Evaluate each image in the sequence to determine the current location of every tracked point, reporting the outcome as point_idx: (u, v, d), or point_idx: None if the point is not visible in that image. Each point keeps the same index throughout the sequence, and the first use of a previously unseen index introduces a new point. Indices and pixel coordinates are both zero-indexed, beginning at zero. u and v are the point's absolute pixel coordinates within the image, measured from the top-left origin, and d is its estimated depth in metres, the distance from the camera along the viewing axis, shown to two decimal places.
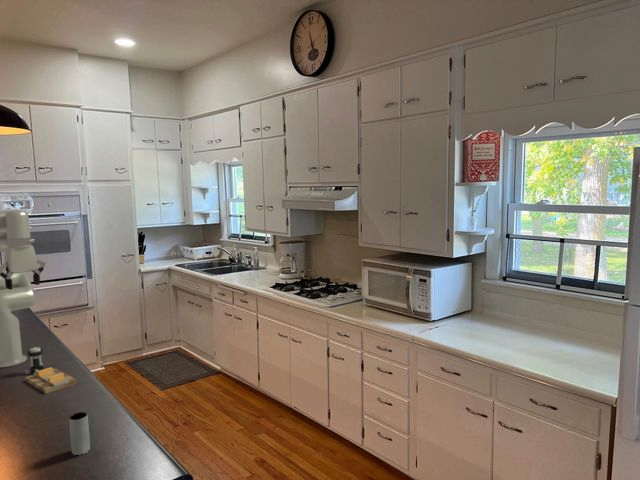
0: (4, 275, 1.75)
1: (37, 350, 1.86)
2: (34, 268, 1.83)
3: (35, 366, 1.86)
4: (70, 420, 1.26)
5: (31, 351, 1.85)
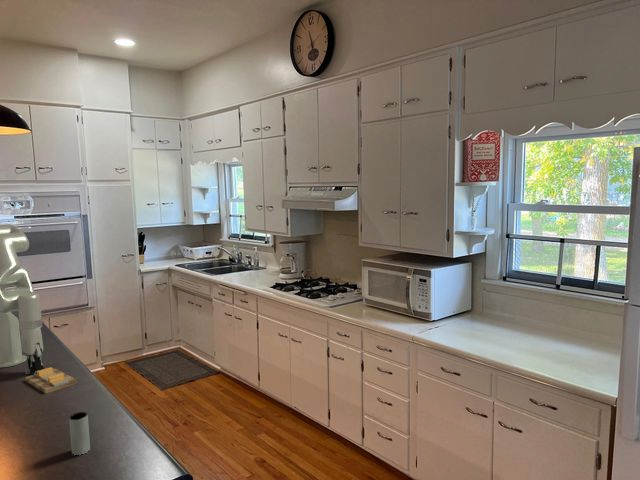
0: None
1: None
2: None
3: None
4: (70, 420, 1.26)
5: None
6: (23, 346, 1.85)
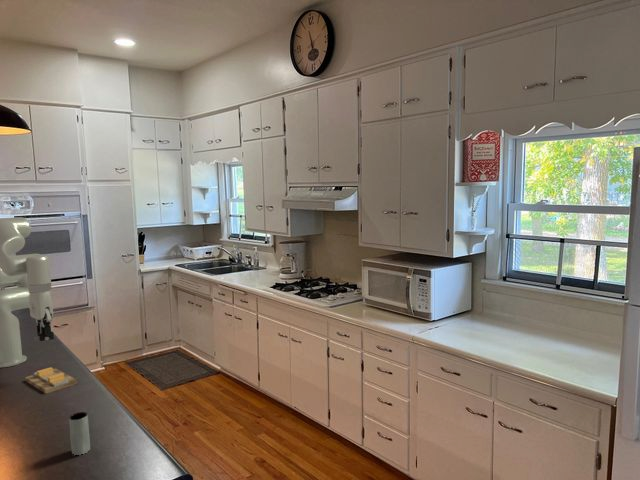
0: None
1: None
2: None
3: None
4: (70, 420, 1.26)
5: None
6: (32, 311, 1.76)
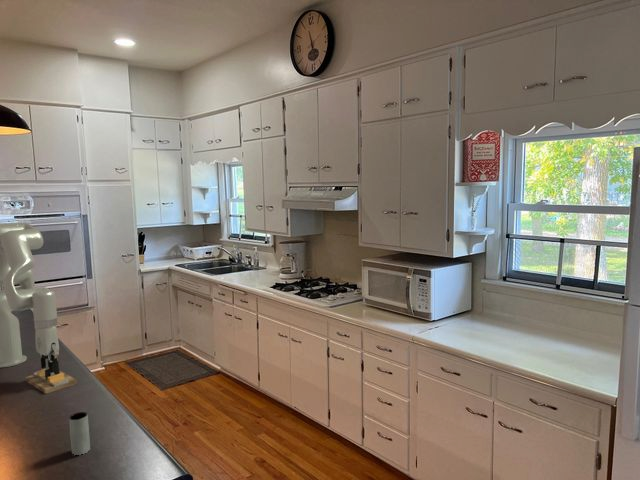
0: None
1: None
2: None
3: None
4: (70, 420, 1.26)
5: None
6: (38, 346, 1.75)
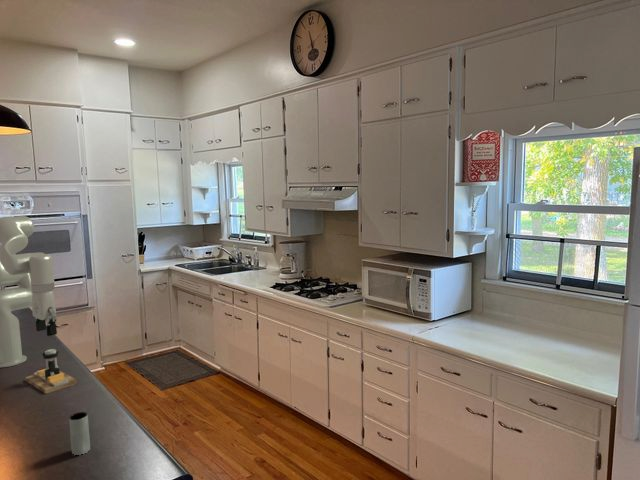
0: None
1: (53, 352, 1.76)
2: None
3: (51, 369, 1.76)
4: (70, 420, 1.26)
5: (46, 353, 1.76)
6: (34, 311, 1.74)
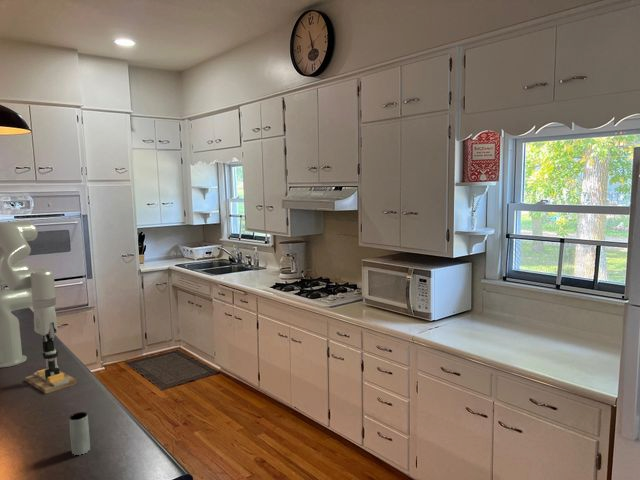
0: None
1: (53, 352, 1.76)
2: None
3: (51, 369, 1.76)
4: (70, 420, 1.26)
5: (47, 353, 1.75)
6: (36, 326, 1.74)
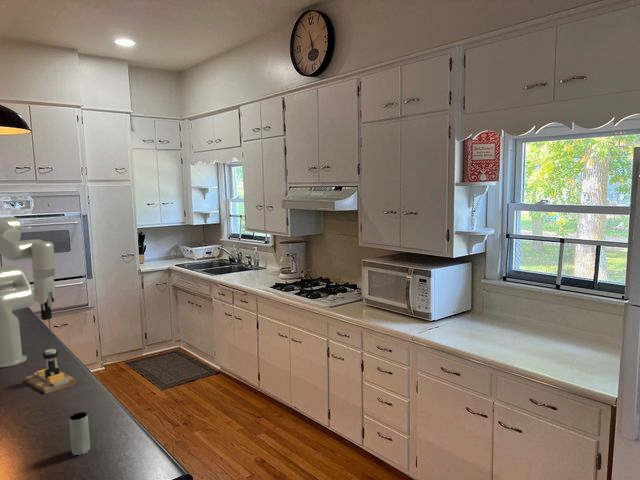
0: None
1: (53, 352, 1.76)
2: None
3: (51, 369, 1.76)
4: (70, 420, 1.26)
5: (46, 353, 1.76)
6: (35, 295, 1.82)
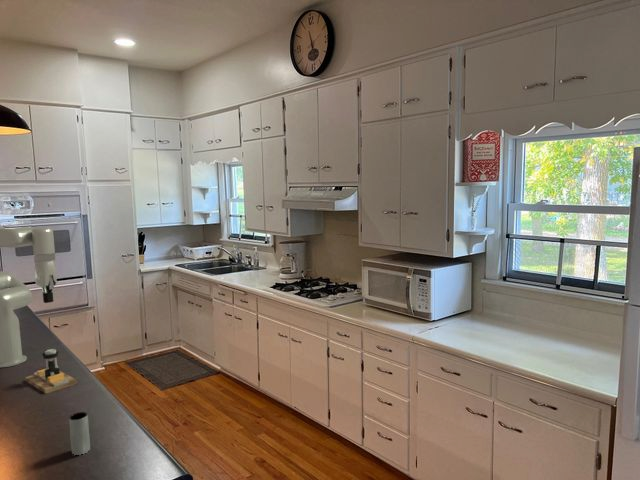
0: None
1: (53, 352, 1.76)
2: None
3: (51, 369, 1.76)
4: (70, 420, 1.26)
5: (46, 353, 1.76)
6: (37, 279, 1.90)
